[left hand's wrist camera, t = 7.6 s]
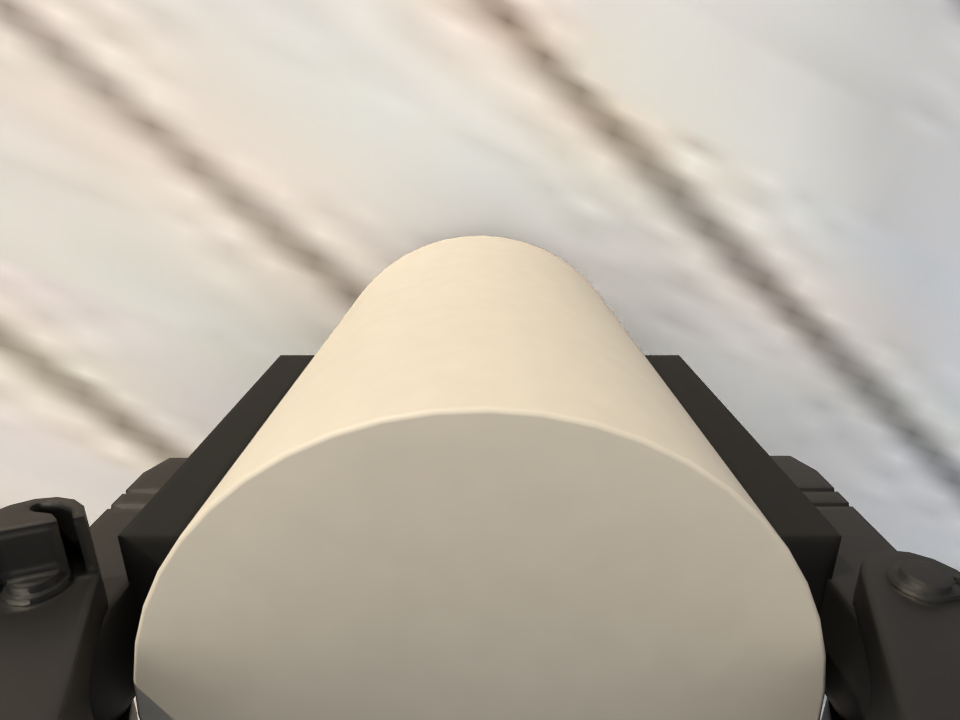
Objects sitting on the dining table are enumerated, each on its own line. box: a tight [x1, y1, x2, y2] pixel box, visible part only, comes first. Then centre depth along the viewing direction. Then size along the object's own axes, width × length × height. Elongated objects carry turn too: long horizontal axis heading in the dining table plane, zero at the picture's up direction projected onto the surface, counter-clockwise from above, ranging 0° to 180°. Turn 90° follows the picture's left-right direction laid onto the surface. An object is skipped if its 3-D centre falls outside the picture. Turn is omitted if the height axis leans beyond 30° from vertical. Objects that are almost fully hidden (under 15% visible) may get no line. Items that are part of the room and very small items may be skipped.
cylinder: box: [133, 236, 826, 720], centre depth 11 cm, size 7×7×10 cm
